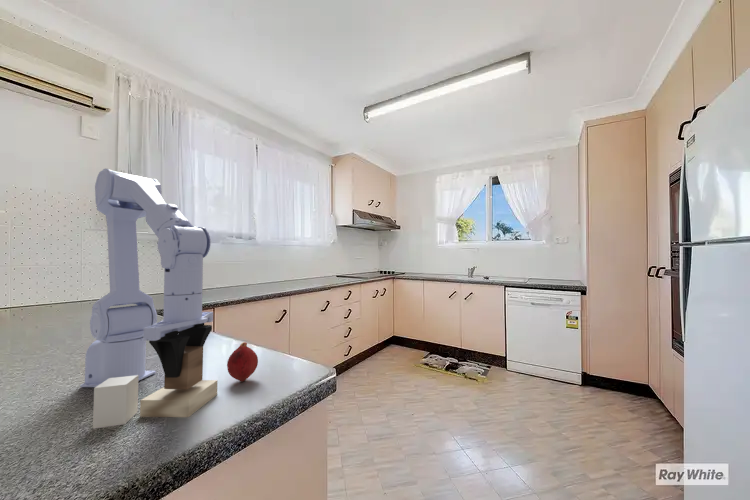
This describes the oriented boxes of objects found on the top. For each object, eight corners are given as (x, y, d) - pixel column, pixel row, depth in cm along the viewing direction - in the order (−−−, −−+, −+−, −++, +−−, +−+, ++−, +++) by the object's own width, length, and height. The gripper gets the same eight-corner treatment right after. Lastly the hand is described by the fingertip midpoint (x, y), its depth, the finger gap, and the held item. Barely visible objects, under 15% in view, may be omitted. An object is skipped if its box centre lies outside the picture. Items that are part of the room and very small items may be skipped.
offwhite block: (92, 428, 44) (94, 388, 44) (108, 415, 47) (109, 378, 48) (125, 424, 45) (126, 384, 45) (137, 411, 49) (138, 375, 49)
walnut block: (164, 388, 49) (165, 352, 49) (181, 379, 53) (182, 346, 53) (187, 389, 49) (188, 353, 49) (202, 379, 53) (203, 346, 53)
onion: (245, 388, 57) (246, 347, 57) (220, 386, 58) (220, 345, 59) (263, 377, 63) (263, 339, 63) (239, 375, 64) (239, 338, 64)
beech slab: (140, 419, 47) (140, 400, 47) (175, 396, 55) (176, 380, 55) (188, 419, 47) (188, 400, 47) (217, 396, 55) (217, 380, 55)
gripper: (175, 298, 44) (174, 389, 44) (228, 289, 59) (227, 358, 58) (131, 298, 44) (128, 389, 44) (194, 289, 59) (193, 357, 58)
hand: (182, 371), depth 51 cm, fingers closed on walnut block, 4 cm apart
